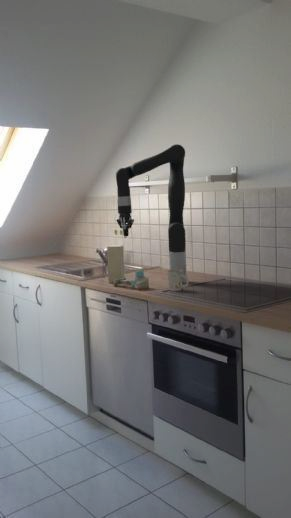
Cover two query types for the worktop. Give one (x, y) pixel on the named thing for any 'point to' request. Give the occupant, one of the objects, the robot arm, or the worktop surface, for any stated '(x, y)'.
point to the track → (123, 283)
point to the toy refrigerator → (115, 262)
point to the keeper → (137, 276)
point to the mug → (176, 280)
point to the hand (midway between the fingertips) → (126, 236)
